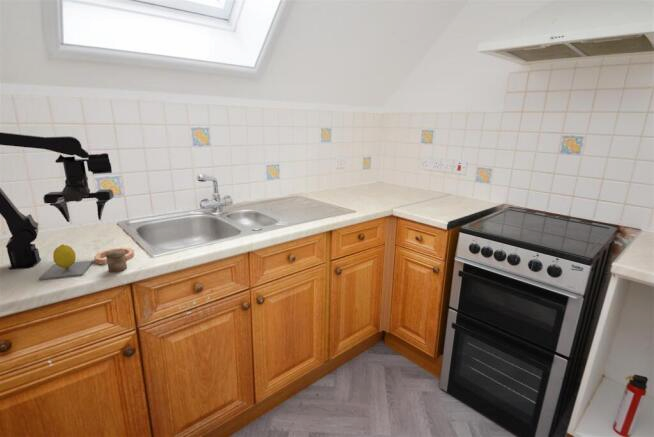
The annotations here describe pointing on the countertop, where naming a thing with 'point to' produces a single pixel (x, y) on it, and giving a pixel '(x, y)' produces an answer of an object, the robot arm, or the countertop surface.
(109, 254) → the walnut salt pot
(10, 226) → the robot arm
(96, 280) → the countertop surface
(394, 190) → the countertop surface
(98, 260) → the c ring
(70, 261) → the lemon
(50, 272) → the slate coaster
